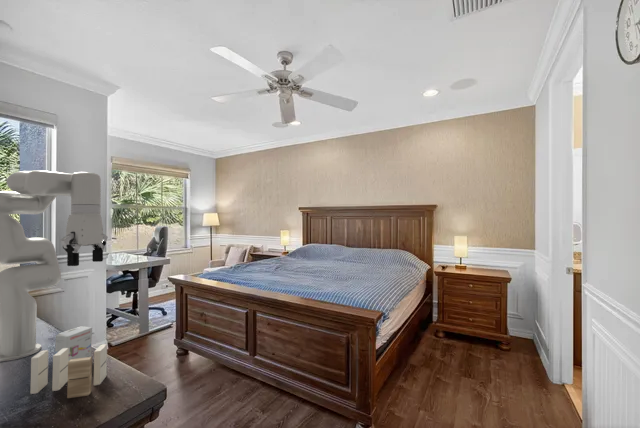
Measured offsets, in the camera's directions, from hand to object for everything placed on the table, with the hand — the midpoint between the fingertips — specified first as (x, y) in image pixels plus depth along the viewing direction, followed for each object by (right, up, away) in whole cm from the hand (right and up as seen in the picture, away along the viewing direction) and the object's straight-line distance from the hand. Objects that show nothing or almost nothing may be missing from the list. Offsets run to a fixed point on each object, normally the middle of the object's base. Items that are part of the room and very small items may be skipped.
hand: (86, 263), depth 96 cm
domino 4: (+9, -35, -5) cm, 36 cm away
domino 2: (-1, -35, -8) cm, 36 cm away
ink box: (-7, -35, +3) cm, 36 cm away
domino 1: (-6, -35, -10) cm, 37 cm away
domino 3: (+8, -35, -13) cm, 38 cm away
